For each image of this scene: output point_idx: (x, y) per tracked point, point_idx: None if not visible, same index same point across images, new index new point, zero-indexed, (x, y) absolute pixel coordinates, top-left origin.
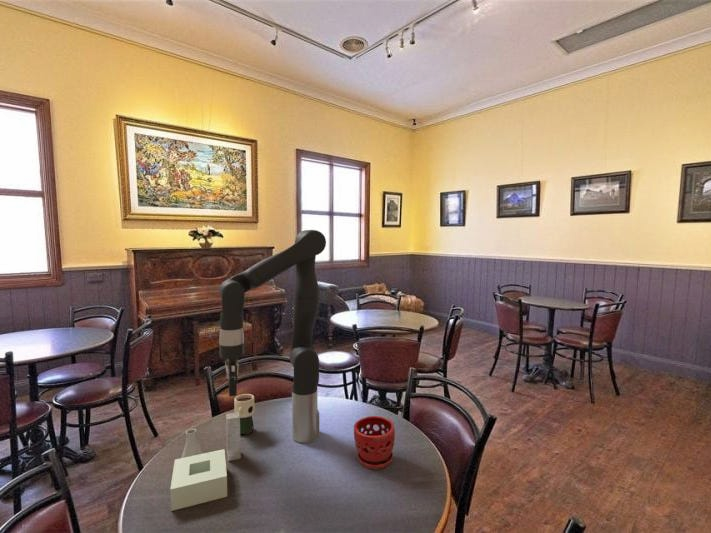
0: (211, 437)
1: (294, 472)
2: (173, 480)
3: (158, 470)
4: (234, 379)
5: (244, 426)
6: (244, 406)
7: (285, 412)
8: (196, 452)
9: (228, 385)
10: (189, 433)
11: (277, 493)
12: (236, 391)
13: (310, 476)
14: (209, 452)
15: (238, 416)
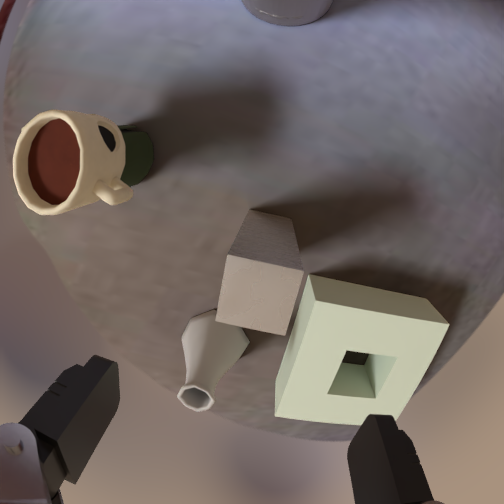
0: (114, 264)
1: (450, 115)
2: None
3: (216, 399)
4: (85, 401)
5: (137, 165)
6: (98, 170)
7: (94, 9)
8: (229, 349)
9: (115, 406)
10: (210, 405)
11: (487, 195)
12: (400, 437)
13: (480, 95)
14: (303, 344)
15: (288, 274)
